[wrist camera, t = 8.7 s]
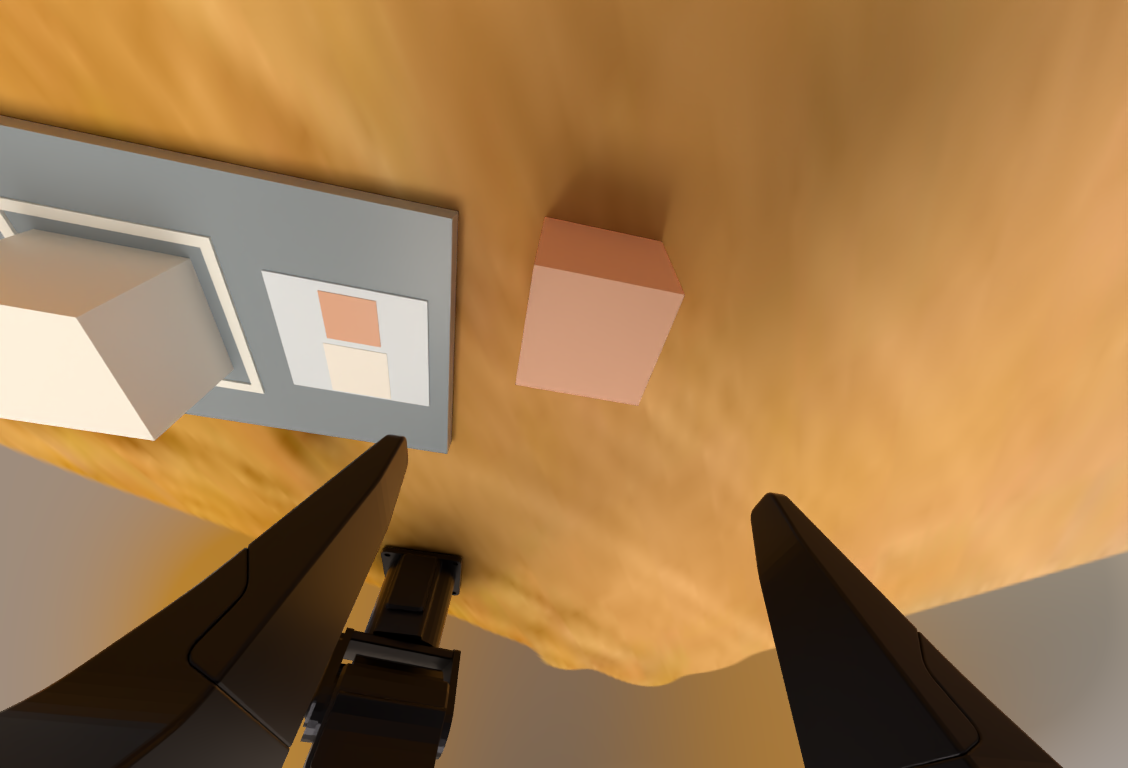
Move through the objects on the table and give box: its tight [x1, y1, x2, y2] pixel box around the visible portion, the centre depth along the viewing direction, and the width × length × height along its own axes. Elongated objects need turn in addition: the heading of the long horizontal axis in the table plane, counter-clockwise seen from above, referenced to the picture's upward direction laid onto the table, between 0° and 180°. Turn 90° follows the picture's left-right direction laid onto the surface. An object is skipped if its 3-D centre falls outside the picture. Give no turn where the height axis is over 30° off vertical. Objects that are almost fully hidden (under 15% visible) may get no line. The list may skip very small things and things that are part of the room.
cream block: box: [0, 229, 234, 441], centre depth 17 cm, size 6×6×5 cm
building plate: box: [0, 115, 458, 454], centre depth 20 cm, size 14×20×1 cm
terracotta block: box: [515, 217, 685, 406], centre depth 17 cm, size 5×5×5 cm
